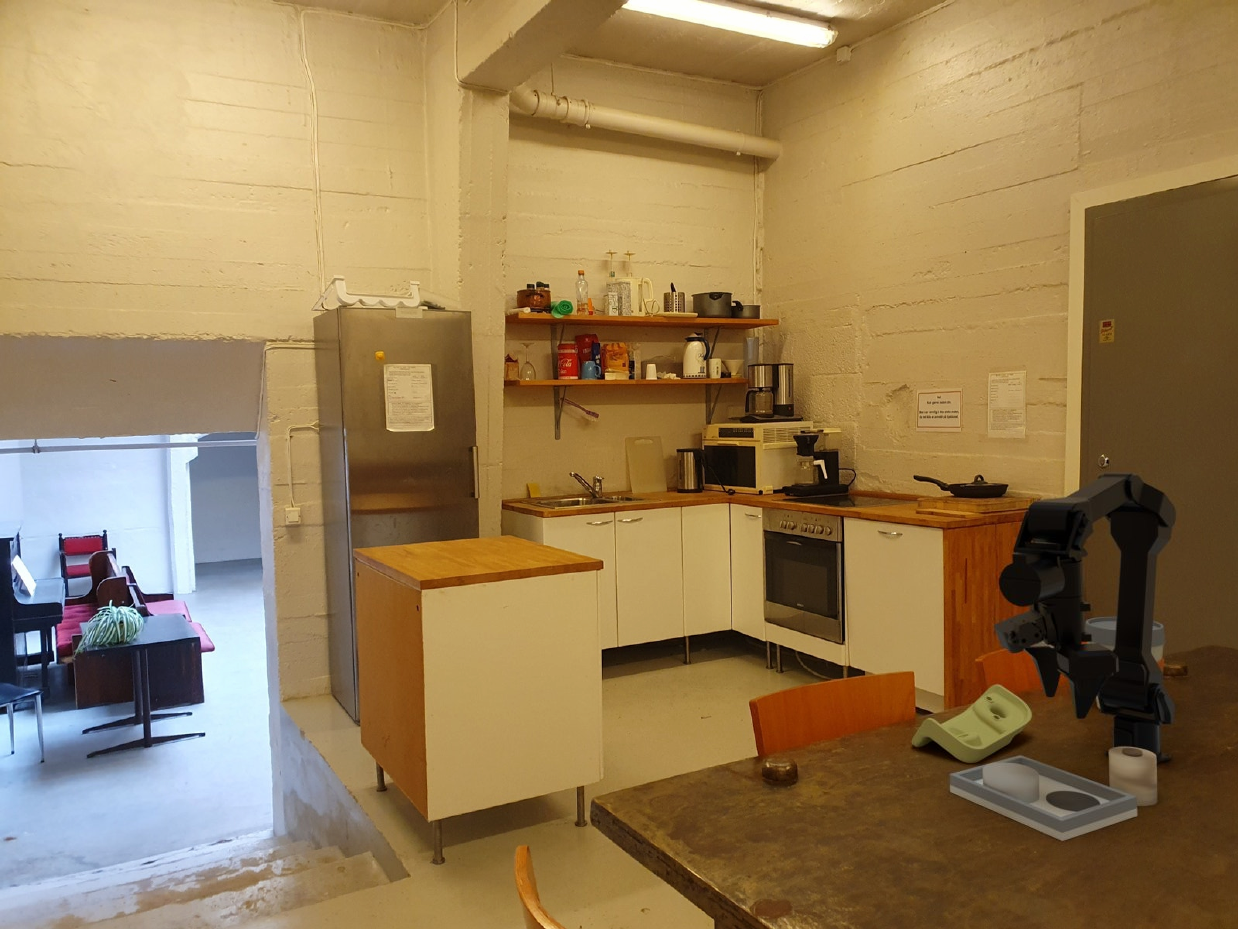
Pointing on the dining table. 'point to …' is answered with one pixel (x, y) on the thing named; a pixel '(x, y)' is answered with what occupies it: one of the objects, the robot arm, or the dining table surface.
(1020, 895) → the dining table surface
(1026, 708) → the plastic component
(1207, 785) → the dining table surface
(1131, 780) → the tan paper roll
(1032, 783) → the carrier plate
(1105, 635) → the reusable coffee cup
